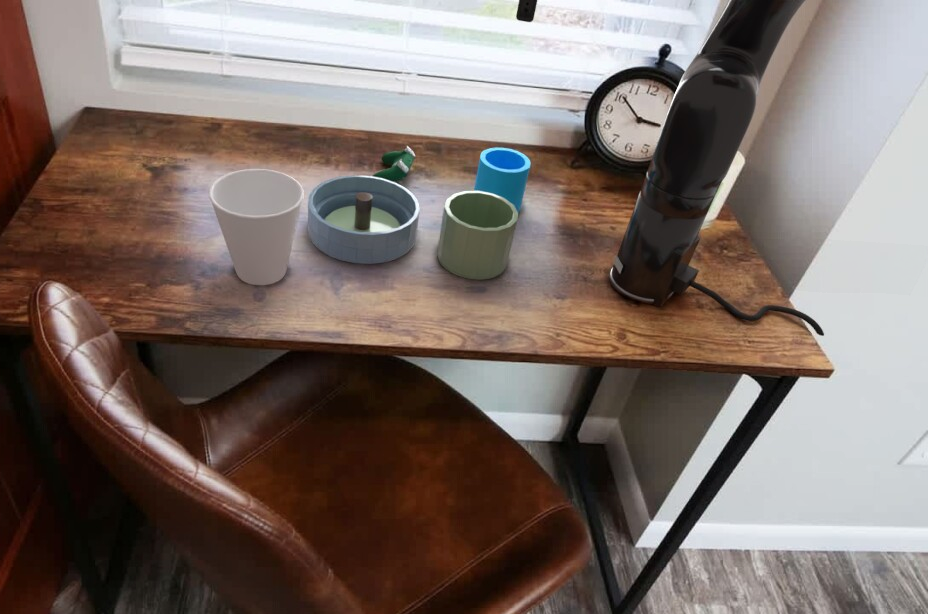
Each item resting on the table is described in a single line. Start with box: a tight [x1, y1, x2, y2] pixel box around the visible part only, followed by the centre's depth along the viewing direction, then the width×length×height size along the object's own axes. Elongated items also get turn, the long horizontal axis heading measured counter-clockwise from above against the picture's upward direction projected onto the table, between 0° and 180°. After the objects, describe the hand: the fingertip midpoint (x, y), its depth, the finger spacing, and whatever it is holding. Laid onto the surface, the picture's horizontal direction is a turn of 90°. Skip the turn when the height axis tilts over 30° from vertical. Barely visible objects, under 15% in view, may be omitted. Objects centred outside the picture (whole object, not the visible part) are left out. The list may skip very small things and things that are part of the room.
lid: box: [325, 192, 400, 232], centre depth 104 cm, size 11×11×6 cm
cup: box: [208, 168, 305, 286], centre depth 93 cm, size 12×12×12 cm
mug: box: [473, 147, 531, 213], centre depth 116 cm, size 12×8×8 cm
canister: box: [436, 190, 519, 281], centre depth 102 cm, size 10×10×8 cm
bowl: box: [307, 174, 421, 265], centre depth 104 cm, size 16×16×6 cm
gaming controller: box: [372, 145, 416, 183], centre depth 119 cm, size 9×4×6 cm
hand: (526, 10), depth 91 cm, fingers open, 8 cm apart
